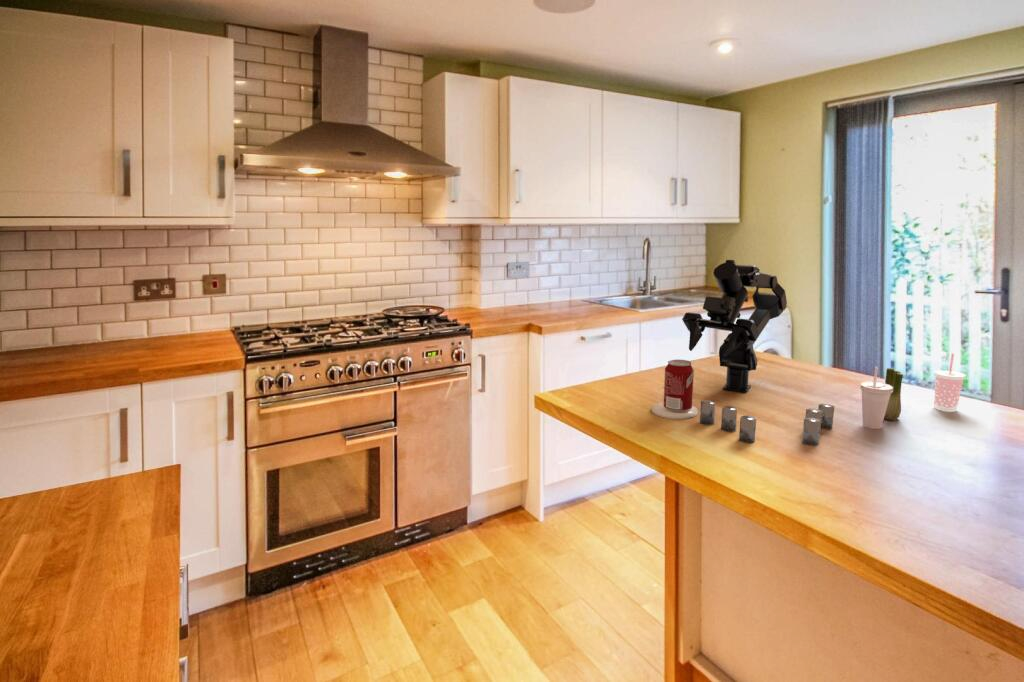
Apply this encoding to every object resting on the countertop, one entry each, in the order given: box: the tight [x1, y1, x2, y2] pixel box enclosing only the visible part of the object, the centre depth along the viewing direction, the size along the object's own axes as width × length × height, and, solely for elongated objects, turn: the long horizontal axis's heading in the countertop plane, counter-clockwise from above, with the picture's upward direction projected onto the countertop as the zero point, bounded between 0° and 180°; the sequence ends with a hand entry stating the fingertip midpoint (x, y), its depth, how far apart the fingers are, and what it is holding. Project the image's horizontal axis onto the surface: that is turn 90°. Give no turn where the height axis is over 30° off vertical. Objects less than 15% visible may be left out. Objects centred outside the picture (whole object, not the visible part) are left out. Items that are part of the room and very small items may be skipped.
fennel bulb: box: [884, 367, 903, 421], centre depth 143 cm, size 6×5×12 cm
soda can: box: [663, 358, 695, 413], centre depth 149 cm, size 7×7×12 cm
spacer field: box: [699, 399, 835, 446], centre depth 135 cm, size 14×29×5 cm, turn 82°
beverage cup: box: [933, 352, 966, 413], centre depth 149 cm, size 6×6×14 cm
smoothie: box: [859, 366, 893, 430], centre depth 138 cm, size 6×6×14 cm
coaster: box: [651, 401, 699, 420], centre depth 151 cm, size 11×11×1 cm
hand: (706, 352), depth 153 cm, fingers open, 9 cm apart
